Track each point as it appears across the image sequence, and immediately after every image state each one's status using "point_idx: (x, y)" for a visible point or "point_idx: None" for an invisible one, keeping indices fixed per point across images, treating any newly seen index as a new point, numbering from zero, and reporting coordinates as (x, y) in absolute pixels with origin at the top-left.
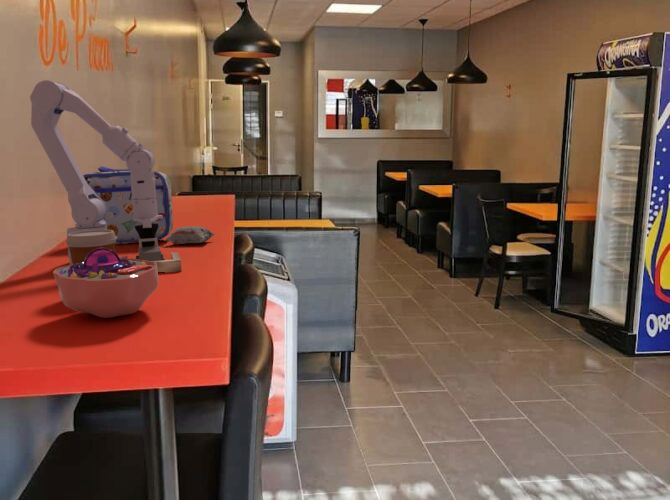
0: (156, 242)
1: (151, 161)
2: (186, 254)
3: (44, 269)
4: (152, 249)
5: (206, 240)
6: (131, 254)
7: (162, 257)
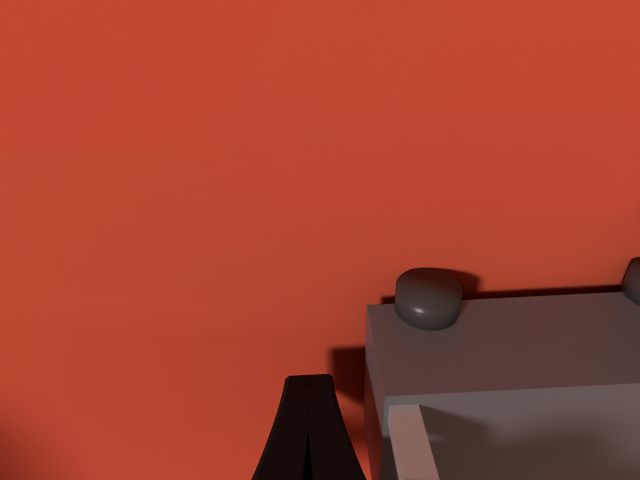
0: (430, 458)
1: None
2: (150, 15)
3: None
4: (602, 435)
5: None
6: (49, 450)
7: (459, 289)
